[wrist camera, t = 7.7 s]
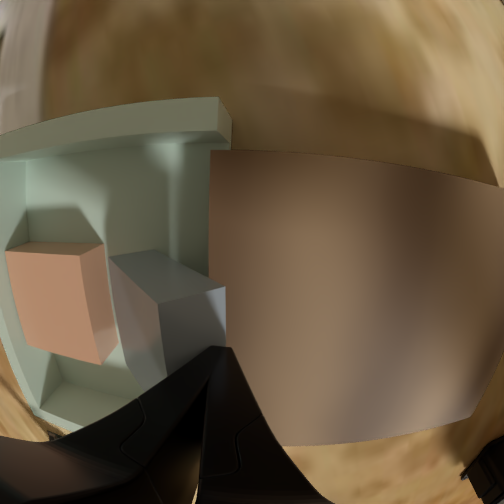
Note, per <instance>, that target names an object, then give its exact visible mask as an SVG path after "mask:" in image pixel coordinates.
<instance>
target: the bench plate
mask: <svg viewBox="0 0 504 504" xmlns="http://www.w3.org/2000/svg"><path fill="white" fill-rule="evenodd" d="M209 278H210V279H212V280H214V281H216V282H218V283H220V284H221V285H223V286H225V300H226V347H232V348H233V350H234V353H235V355H236V357H237V359H238V362H239V364H240V366H241V368H242V371H243V373H244V375H245V377H246V379H247V381H248V384H249V386H250V388H251V390H252V392H253V394H254V396H255V399H256V401H257V403H258V405H259V407H260V409H261V411H262V413H263V416H264V417H265V419H266V421H267V423H268V425H269V427H270V429H271V430H272V432H273V434H274V436H275V437H276V439H277V441H278V442H279V443H280V445H281V446H315V445H331V444H343V443H353V442H361V441H369V440H376V439H382V438H388V437H394V436H399V435H404V434H409V433H414V432H418V431H423V430H427V429H431V428H435V427H439V426H442V425H446V424H449V423H453V422H456V421H459V420H463V419H466V418H469V417H471V415H472V414H473V412H474V410H475V409H476V407H477V405H478V403H479V402H480V400H481V398H482V396H483V394H484V392H485V390H486V389H487V387H488V385H489V383H490V381H491V379H492V377H493V374H494V372H495V370H496V368H497V366H498V364H499V361H500V359H501V357H502V354H503V352H504V188H500V187H497V186H493V185H490V184H486V183H482V182H479V181H475V180H471V179H467V178H462V177H458V176H454V175H449V174H445V173H440V172H435V171H430V170H425V169H420V168H415V167H409V166H403V165H397V164H391V163H385V162H378V161H371V160H364V159H356V158H348V157H339V156H329V155H319V154H307V153H293V152H277V151H254V150H210V179H209Z"/></svg>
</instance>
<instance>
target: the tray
mask: <svg viewBox="0 0 504 504" xmlns="http://www.w3.org/2000/svg"><path fill="white" fill-rule="evenodd" d="M231 137H232V119H231V117H230V115H229V113H228V112H227V110H226V108H225V107H224V105H223V103H222V101H221V100H220V98H219V97H196V98H180V99H167V100H157V101H147V102H139V103H132V104H124V105H118V106H112V107H106V108H100V109H95V110H90V111H85V112H80V113H76V114H71V115H67V116H63V117H59V118H55V119H51V120H47V121H44V122H40V123H36V124H33V125H30V126H26V127H23V128H20V129H17V130H14V131H11V132H8V133H5V134H2V135H0V337H1V340H2V343H3V346H4V349H5V352H6V354H7V357H8V359H9V362H10V364H11V367H12V369H13V372H14V374H15V376H16V379H17V381H18V383H19V385H20V388H21V390H22V392H23V394H24V396H25V398H26V400H27V402H28V404H29V406H30V408H31V410H32V412H33V414H34V415H35V416H37V417H39V418H41V419H44V420H46V421H48V422H50V423H52V424H55V425H57V426H59V427H62V428H64V429H67V430H69V431H72V432H74V431H76V430H79V429H81V428H83V427H85V426H87V425H89V424H91V423H94V422H96V421H98V420H100V419H102V418H103V417H105V416H107V415H109V414H111V413H113V412H115V411H116V410H118V409H119V408H121V407H123V406H124V405H126V404H128V403H129V402H131V401H132V400H134V399H135V398H137V399H138V396H140V395H141V394H143V393H144V391H143V389H142V388H141V386H140V385H139V383H138V382H137V380H136V379H135V377H134V376H133V374H132V373H131V371H130V370H129V368H128V367H127V365H126V362H125V358H124V354H123V349H122V344H121V339H120V335H119V329H118V324H117V318H116V313H115V307H114V300H113V294H112V287H111V279H110V271H109V262H108V257H109V256H115V255H121V254H127V253H133V252H140V251H146V250H152V249H155V250H156V251H158V252H160V253H162V254H164V255H166V256H168V257H169V258H171V259H173V260H175V261H177V262H179V263H181V264H183V265H185V266H186V267H188V268H190V269H192V270H194V271H196V272H198V273H200V274H202V275H204V276H206V277H208V278H209V179H210V150H231ZM30 241H33V242H68V243H101V244H104V247H105V257H106V266H107V275H108V282H109V290H110V296H111V303H112V309H113V315H114V320H115V326H116V331H117V336H118V341H119V344H118V345H117V346H116V347H115V349H114V350H113V351H112V352H111V354H110V355H109V356H108V357H107V359H106V360H105V361H104V362H103V364H102V365H98V364H94V363H89V362H85V361H81V360H77V359H74V358H70V357H66V356H62V355H59V354H55V353H52V352H49V351H45V350H42V349H39V348H36V347H33V346H30V345H27V342H26V339H25V336H24V333H23V330H22V326H21V323H20V319H19V316H18V312H17V308H16V305H15V301H14V296H13V292H12V288H11V283H10V278H9V273H8V268H7V262H6V256H5V251H6V250H9V249H11V248H14V247H17V246H19V245H22V244H25V243H27V242H30Z"/></svg>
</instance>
